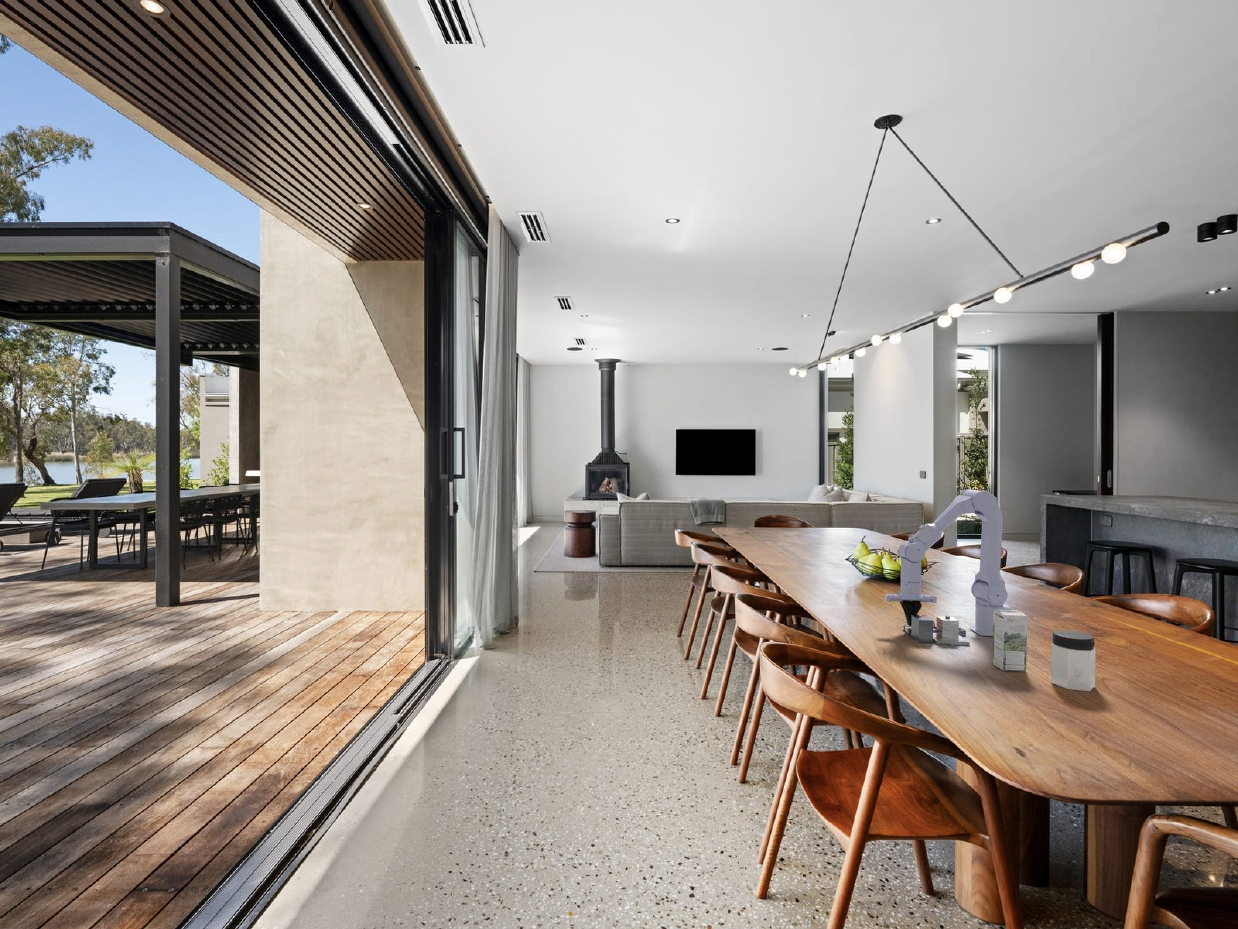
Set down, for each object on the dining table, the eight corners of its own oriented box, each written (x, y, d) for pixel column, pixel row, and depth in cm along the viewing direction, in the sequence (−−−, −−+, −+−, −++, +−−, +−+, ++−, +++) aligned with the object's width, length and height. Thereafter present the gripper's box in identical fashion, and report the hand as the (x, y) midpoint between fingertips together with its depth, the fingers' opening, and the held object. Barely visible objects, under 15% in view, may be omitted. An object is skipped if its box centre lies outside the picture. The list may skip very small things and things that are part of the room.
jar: (1056, 689, 150) (1057, 637, 149) (1045, 677, 157) (1045, 628, 157) (1102, 693, 147) (1102, 641, 147) (1088, 681, 155) (1088, 631, 155)
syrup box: (1015, 665, 167) (1015, 609, 167) (1027, 672, 161) (1028, 614, 161) (991, 664, 167) (992, 608, 167) (1003, 671, 161) (1003, 614, 161)
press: (960, 631, 198) (960, 610, 198) (981, 646, 183) (982, 623, 183) (903, 630, 200) (903, 609, 200) (920, 644, 185) (920, 621, 185)
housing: (952, 635, 191) (952, 614, 191) (958, 639, 186) (958, 618, 186) (936, 634, 191) (936, 614, 191) (942, 639, 187) (942, 618, 187)
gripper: (930, 579, 200) (930, 622, 201) (882, 578, 202) (882, 621, 202) (939, 583, 193) (939, 628, 194) (889, 582, 195) (889, 627, 195)
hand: (910, 625), depth 197 cm, fingers closed
